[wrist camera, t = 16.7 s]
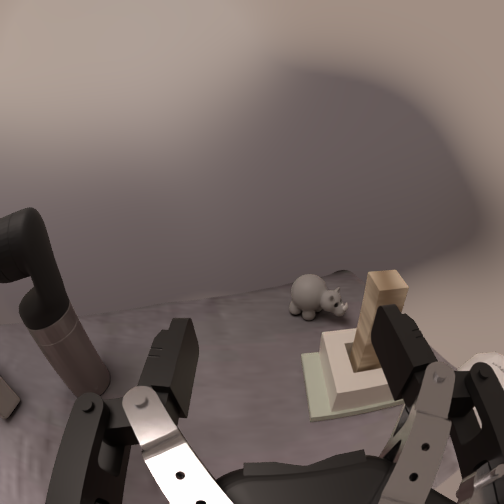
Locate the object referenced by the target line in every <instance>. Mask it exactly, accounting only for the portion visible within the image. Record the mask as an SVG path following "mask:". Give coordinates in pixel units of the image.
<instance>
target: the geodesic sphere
mask: <svg viewBox="0 0 504 504" xmlns="http://www.w3.org/2000/svg"><path fill="white" fill-rule="evenodd" d="M477 362H484V363H487V364H488V365H490V366H491V367H492V369H493V370H494V372H495V374H496V376H497V378H498V380H499V382H500V383H501V385H502V387H503V389H504V355H502V354H499V353H497V352H489V353H478V354H475V355H474V356H473V357H472V358H470V359H469V360H468V361H467V362H465V363H464V364H463V365H462V366H460V367H459V368H458V369H457V371H469V370H470V369H471V367H472V366H473V365H474V364H475V363H477ZM473 410H474V412H475V415H476V417H477V420H478V422H479V425H480V428H482V423H481V420H480V417H479V415H478V412H477V410H476V408H475V407H474V408H473Z"/></svg>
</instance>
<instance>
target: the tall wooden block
mask: <svg viewBox="0 0 504 504" xmlns="http://www.w3.org/2000/svg"><path fill="white" fill-rule="evenodd" d="M408 289H409V287H408V286H407V284H406V283H405V282H404V280H403V279H402V278H401V276H400V275H399V273H398V272H397V271H396V270H387V271H375V272H368V276H367V282H366V287H365V292H364V298H363V303H362V307H361V312H360V317H359V321H358V325H357V330H356V334H355V338H354V342H353V346H352V350H351V353H350V357H349V360H350V363H351V366H352V370H353V373H357V372H363V371H368V370H374V369H379V368H381V365H380V363H379V360H378V358H377V355H376V353H375V350H374V348H373V345H372V342H371V330H372V326H373V323H374V319H375V315H376V311H377V308H378V307H379V306H382V305H389V304H396V305H397V307H398V308H399V310H400V312H402V309H403V306H404V302H405V299H406V296H407V292H408Z"/></svg>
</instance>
